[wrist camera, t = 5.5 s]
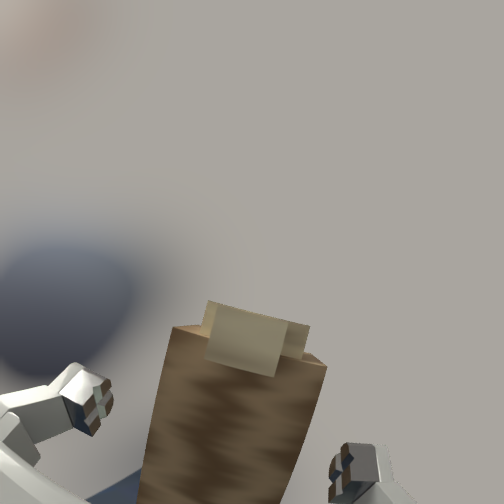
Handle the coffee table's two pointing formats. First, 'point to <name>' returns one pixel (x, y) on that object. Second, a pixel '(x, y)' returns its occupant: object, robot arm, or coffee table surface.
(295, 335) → the t-shaped wooden piece
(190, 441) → the stand
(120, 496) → the coffee table surface
